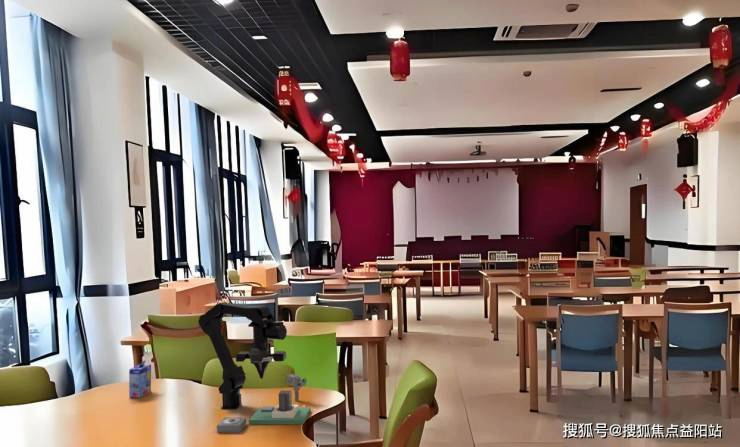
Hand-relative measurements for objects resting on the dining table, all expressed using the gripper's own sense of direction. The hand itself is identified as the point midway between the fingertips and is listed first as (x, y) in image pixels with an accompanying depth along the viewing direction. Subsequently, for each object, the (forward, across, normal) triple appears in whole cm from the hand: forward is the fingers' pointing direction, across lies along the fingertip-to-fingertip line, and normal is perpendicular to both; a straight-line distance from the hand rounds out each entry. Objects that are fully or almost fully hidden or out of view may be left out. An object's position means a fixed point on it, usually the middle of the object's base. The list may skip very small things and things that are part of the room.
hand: (261, 378), depth 215 cm
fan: (+12, -6, -19) cm, 24 cm away
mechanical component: (+13, +11, +12) cm, 21 cm away
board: (+12, +9, -8) cm, 17 cm away
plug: (+11, +11, -8) cm, 17 cm away
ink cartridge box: (+13, -60, +22) cm, 65 cm away
